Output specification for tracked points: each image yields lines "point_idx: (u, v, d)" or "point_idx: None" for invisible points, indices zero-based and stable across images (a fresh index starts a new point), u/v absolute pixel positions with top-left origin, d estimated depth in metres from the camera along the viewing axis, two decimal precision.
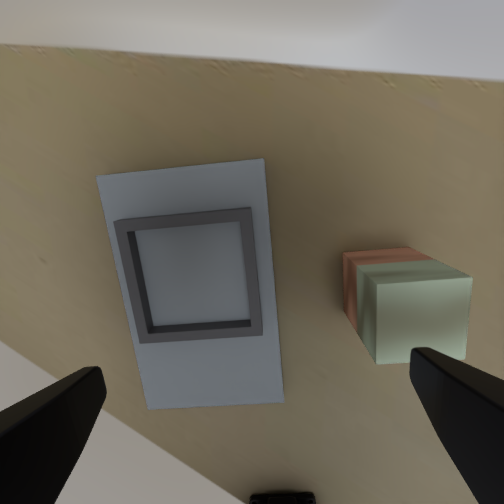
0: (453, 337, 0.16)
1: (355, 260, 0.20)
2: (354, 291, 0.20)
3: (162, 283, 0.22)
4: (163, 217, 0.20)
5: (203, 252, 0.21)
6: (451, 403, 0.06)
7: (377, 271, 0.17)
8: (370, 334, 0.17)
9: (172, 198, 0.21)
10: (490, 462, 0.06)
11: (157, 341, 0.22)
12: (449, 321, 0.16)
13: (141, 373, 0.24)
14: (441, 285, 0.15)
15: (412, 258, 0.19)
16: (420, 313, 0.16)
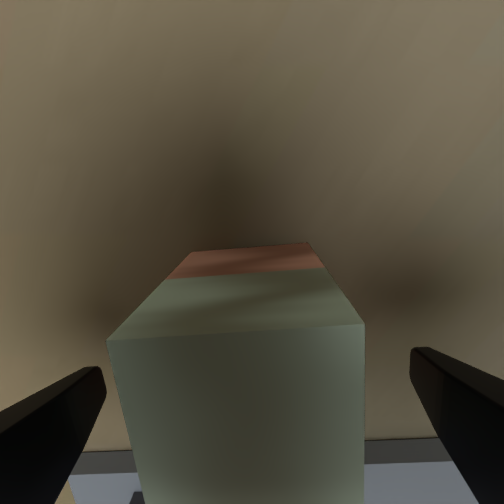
0: (290, 362, 0.06)
1: None
2: None
3: None
4: None
5: None
6: (451, 403, 0.06)
7: None
8: None
9: None
10: (490, 461, 0.06)
11: None
12: (238, 378, 0.06)
13: None
14: (138, 407, 0.06)
15: None
16: (218, 443, 0.06)
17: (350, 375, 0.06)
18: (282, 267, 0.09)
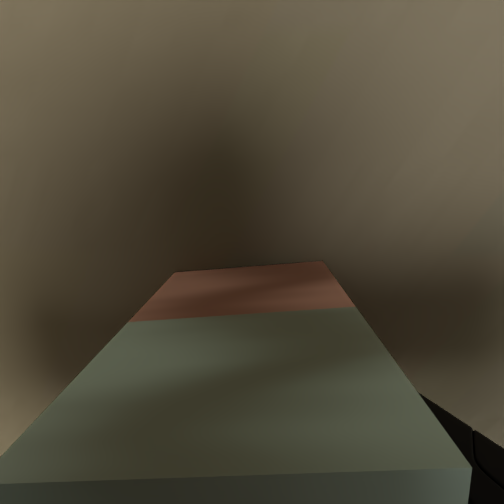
0: None
1: None
2: None
3: None
4: None
5: None
6: None
7: None
8: None
9: None
10: None
11: None
12: None
13: None
14: None
15: None
16: None
17: None
18: (294, 304, 0.06)
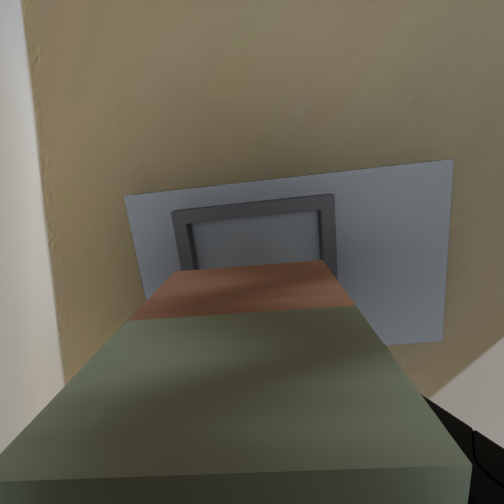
0: None
1: None
2: None
3: None
4: None
5: (231, 263, 0.19)
6: None
7: None
8: None
9: None
10: None
11: None
12: None
13: (387, 343, 0.20)
14: None
15: None
16: None
17: None
18: (294, 303, 0.06)
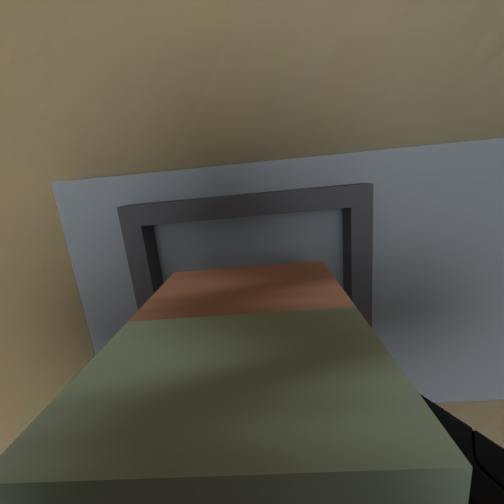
0: None
1: None
2: None
3: None
4: None
5: None
6: None
7: None
8: None
9: None
10: None
11: None
12: None
13: (435, 400, 0.14)
14: None
15: None
16: None
17: None
18: (294, 304, 0.06)
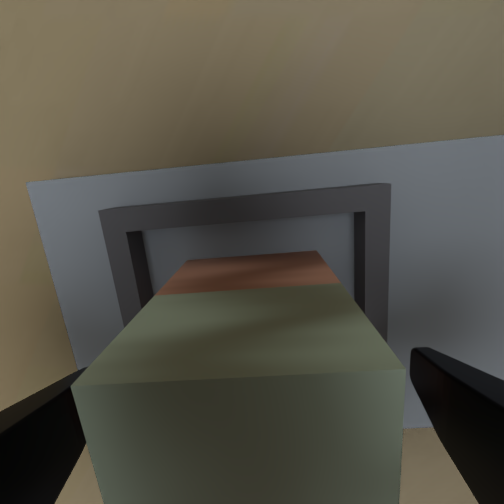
0: (307, 414, 0.04)
1: None
2: None
3: None
4: None
5: None
6: (451, 403, 0.06)
7: None
8: None
9: None
10: (490, 462, 0.06)
11: None
12: (241, 433, 0.04)
13: None
14: (114, 467, 0.05)
15: None
16: None
17: (384, 432, 0.04)
18: (291, 282, 0.08)
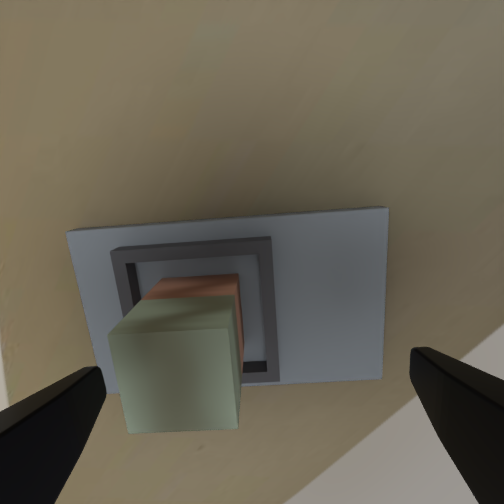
0: (195, 345, 0.12)
1: None
2: None
3: None
4: None
5: None
6: (451, 403, 0.06)
7: None
8: None
9: None
10: (490, 462, 0.06)
11: (277, 363, 0.19)
12: (171, 353, 0.12)
13: (329, 380, 0.20)
14: (122, 368, 0.12)
15: None
16: (162, 386, 0.12)
17: (223, 352, 0.12)
18: (211, 293, 0.15)
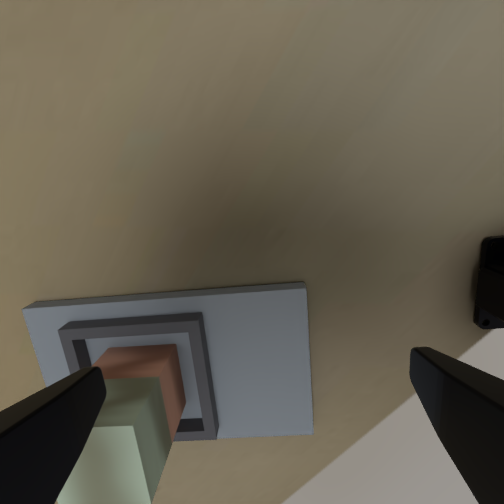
0: (107, 438, 0.14)
1: None
2: None
3: None
4: None
5: None
6: (451, 403, 0.06)
7: None
8: None
9: None
10: (490, 462, 0.06)
11: (212, 424, 0.21)
12: (88, 444, 0.14)
13: (265, 434, 0.22)
14: None
15: None
16: (83, 470, 0.14)
17: (131, 444, 0.14)
18: (140, 374, 0.17)
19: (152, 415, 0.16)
